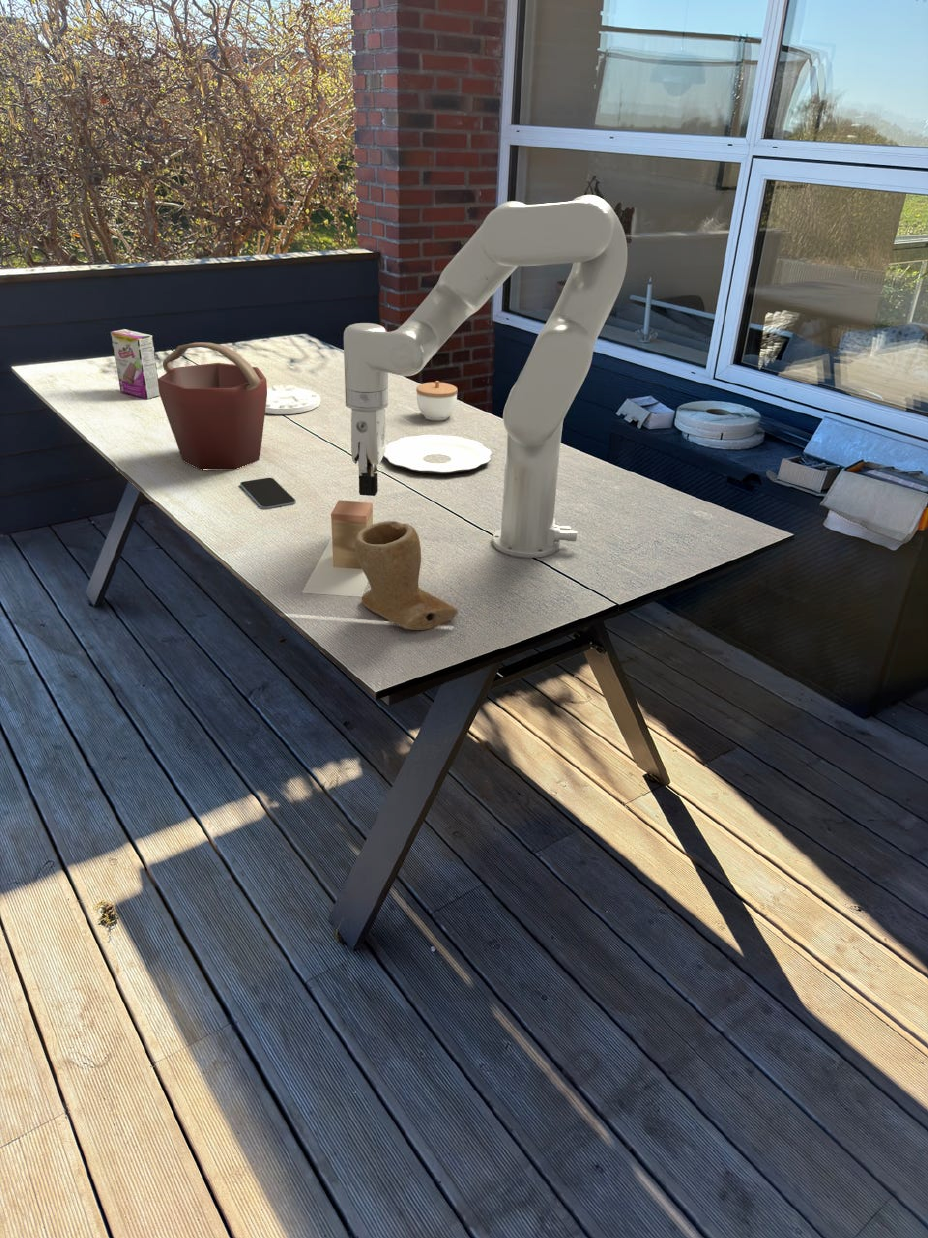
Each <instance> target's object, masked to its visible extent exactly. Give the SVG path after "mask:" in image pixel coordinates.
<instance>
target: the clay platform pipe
mask: <svg viewBox="0 0 928 1238" xmlns="http://www.w3.org/2000/svg"><path fill="white" fill-rule="evenodd" d="M355 551H356V555H357V558H358V561H359V563H360V566H361V568H362V570H363V572H364V573H365V575H366V577H367V579H368V584H369V586H370V590H368V591H366V592H364V593H363V596H362V597H361V602H362V604H363V605H364V606H365V607H366V608H368V610H370V611H371V612H372V613H374V614H376V615H378V616H380V617H382V618H384V619H385V620H387V621H389V622H391V623H393V624H395V625H397V626H399V627H401V628H403V629H404V630H415V631H424V630H425V631H426V630H430V629H432V628H435V627H438V626H441V625H443V624H445V623H446V622H449V621H450V620H451V619H453V618H455V617H456V616H457V615H458V613H459V611H458V609H457V608H456V607H454V606H452V605H450V604H449V603H447V602H446V601H444V600H442V599H440V598H438V597H437V596H434V595H432V594H431V593H428V592H426V591H425V590H423V589H421V588H420V586H419V579H420V572H421V571H420V569H421V565H422V549H421V542H420V538H419V535H418V532H417V530H416V529H415V528H414V527H413V526H412V525H410V524H409V523H403V522H398V521H394V520H385V521H380V522H375V523H373V525H370V526H368V527H366V528H364V529H362V530H361V531H360V532H359V533H358V534H357V536H356V539H355Z"/></svg>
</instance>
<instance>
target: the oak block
mask: <svg viewBox="0 0 928 1238" xmlns="http://www.w3.org/2000/svg"><path fill="white" fill-rule="evenodd" d="M373 504H374V503H373V502H368V501H366V502H365V501H357V500H356V501H353V500H338V501H337V502H336V504H335V506H334V507H333V509H332V511H331V513H330V518H331V519H330V520H331V538H332V548H333V567H341V568H355V569H362V568H361V566H360V563H359V561H358V558H357V555H356V551H355V539H356V536H357V534H358V533H359V532H360V531H361V530H362V529H364V528H366V527H368V526H370V525H373V524H374V513H373V512H374V511H373V510H374V506H373Z"/></svg>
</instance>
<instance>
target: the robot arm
mask: <svg viewBox="0 0 928 1238" xmlns="http://www.w3.org/2000/svg"><path fill="white" fill-rule="evenodd" d="M562 264H572V268H571V271H570V273H569V275H568V277H567V280H566V282H565V285H563V288H562V291H561V293H560V295H559V298H558V300H557V302H556V304H555V306H554V308H553V309H552V312H551V313H550V315H549V317H548V319H547V321H546V323H545V324H544V326H543V327H542V328H541V330H540V331H539V333H538V335H537V337H536V339H535V342H534V345H532V348H531V350H530V353H529V355H528V357H527V358H526V361H525V364H524V366H523V368H522V370H521V371H520V374H519V376H518V378H517V381H516V382H515V383H514V385H513V386H512V388H511V389H510V392H509V394H508V396H507V399H506V402H505V405H504V408H503V413H502V421H503V422H502V423H503V426H504V429H505V431H506V433H507V434H506V444H505V445H506V446H505V459H504V460H505V462H504V471H503V472H504V476H503V491H502V509H501V510H502V511H501V526H500V529H498V530H496V531H495V532H493V534H492V538H491V543H492V545H493V547H494V548H495V549H496V550H498V551H499V552H501V553H503V554H506V555H509V556H511V557H518V558H525V559H527V558H528V559H530V558H531V559H535V558H542V557H543V556H544V557H546V556H550V555H553V554H554V553H556V552H557V551H558V550H559V548H560V545H561V544H560V541H566V542H577V539H578V531H576V530H571V526H559V524H556V518H555V514H554V513H555V505H556V496H557V495H556V494H557V484H558V472H559V471H558V470H559V465H560V462H559V461H560V453H561V451H560V450H561V442H562V431H563V423H564V419H565V417H566V415H567V413H568V411H569V409H570V408H571V405H572V404H573V402H574V400H575V398H576V396H577V394H578V392H579V390H580V388H581V386H583V383H584V381H585V378H586V377H587V375H588V372H589V370H590V367H591V364H592V360H593V355H594V348H595V345H596V342H597V340H598V337H599V336H600V334H601V331H602V330H603V328H604V325H605V323H606V322H607V319H608V317H609V315H610V313H611V311H612V309H613V307H614V304H615V302H616V300H617V298H618V296H619V293H620V290H621V288H622V286H623V284H624V283H623V282H624V279H625V276H626V272H627V266H628V244H627V238H626V234H625V230H624V227H623V225H622V223H621V221H620V218H619V217H618V215H617V214H616V212H615V211H614V209H613V208H612V207H611V205H610V204H609V203H608V202H607V201H606V200H605V199H603V198H601V197H600V196H597V195H594V194H586V195H580V196H578V197H575V198H573V200H571V201H565V202H564V201H563V202H554V203H543V204H524V203H523V202H521V201H515V200H511V201H505V202H503V203H501V204H500V205H498V206H497V207H496V208H494V209H493V210H491V211H490V212H489V214H487V215H486V218H485V219H484V220H483V223H482V224H481V225H480V227H479V228H478V229H477V231H476V232H475V233H473V235H472V236H471V237H470V239H469V240H468V241H467V242H466V243H465V244H464V245H463V247H462V248H461V249H460V250H459V251H458V252H457V253H456V254H455V255H454V257H453V258H452V259H451V260H450V262H449V263H448V264H447V265H446V266H445V267H444V269H443V270H442V272H441V274H440V275H439V278H438V281H437V283H436V284H435V286H434V287H433V289H432V290H431V291H430V293H429V294H428V295H427V296H426V297H425V298H424V300H423V301H422V302H421V303H420V305H419V306H418V307H417V308H416V309H415V310H414V312H413V313H412V314H411V315H409V317H408V318H407V320H405V322H404V323H403V324H401V325H400V326H399V327H398V328H397V329H395V330H392V331H387V329H385V327H384V326H382V325H380V324H377V323H371V322H360V323H353V324H349V325H348V326H347V327H345V330H344V332H343V355H344V357H343V358H344V360H343V361H344V362H343V363H344V385H345V386H344V391H345V392H344V393H345V396H344V398H345V406H346V407H347V409H350V411H351V412H350V448H351V449H350V451H351V460H352V463H354V464H358V493H359V495H360V496H366V497H367V496H369V497H375V496H377V493H378V472H377V471H378V465H379V464H380V463H381V461H382V459H383V458H384V457H383V456H384V454H385V452H386V445H387V429H386V427H387V426H386V413H385V411H386V410H385V409H386V408H388V406H389V375H388V374H392V375H396V376H401V377H411V376H414V375H417V374H418V373H420V372H421V371H422V370H423V369H424V367H426V365H427V363H429V361H430V360H431V359H432V358H433V356H435V354H436V353H437V352H438V351H439V350H440V348H441V347H442V346H443V345H444V344H445V343H446V342H447V341H448V339H449V338H450V337H451V336H452V335H453V333H455V332H456V330H457V329H458V328H459V327H461V325H462V324H463V323H464V322H465V321H466V320H467V319H468V318H469V317H470V316H472V315H474V314H475V313H476V312H478V311H479V310H480V309H481V308H482V307H483V306H484V305H485V304H486V303H487V301H488V300H489V299H490V298H491V297H492V296H493V295H494V294H495V292H496V291H497V290H498V289H499V288H500V287H501V285H503V284H504V282H505V281H507V279H508V278H509V277H510V276H511V275H512V274H513V273H514V271H516V269H517V268H518V267H533V266H534V267H535V266H548V265H562ZM557 549H558V550H557ZM556 550H557V551H556ZM555 551H556V552H555ZM552 553H553V554H552Z"/></svg>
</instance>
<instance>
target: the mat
mask: <svg viewBox="0 0 928 1238" xmlns="http://www.w3.org/2000/svg"><path fill="white" fill-rule="evenodd" d="M368 584H369V581H368V579H367V577H366V575H365V573H364V572H363V570H362V569H355V568H341V567H333V548H332V537H331V538H330V540H329V541H328V544H327V545H326V547H325V549H324V551H323V553H322V555H321V556H320V558H319V560H318V562H317V564H316V565H315V568H313V571H312V573H311V575H310V576H309V579H308V580H307V582H306V584H305V586H304V588H303V590H302V591H301V593H303V594H316V595H332V596H343V597H355V598H362V596H363V595H364V594H365V590H366V588H367V586H368Z"/></svg>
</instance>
